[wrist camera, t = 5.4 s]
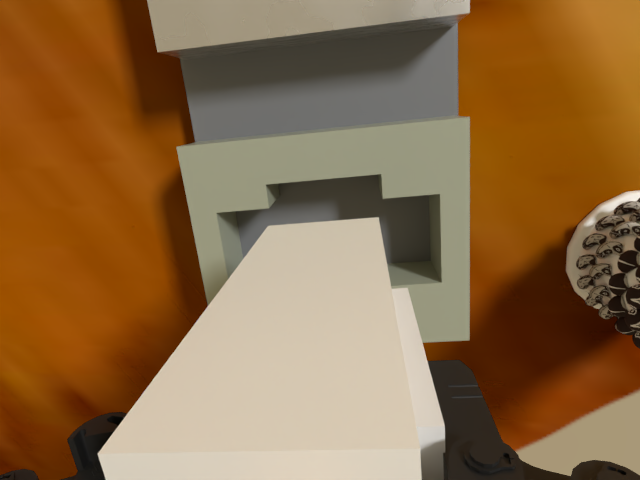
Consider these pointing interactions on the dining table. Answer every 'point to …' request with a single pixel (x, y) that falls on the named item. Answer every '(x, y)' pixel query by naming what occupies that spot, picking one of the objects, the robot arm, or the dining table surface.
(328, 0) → the socket
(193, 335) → the plug
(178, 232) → the dining table surface
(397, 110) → the board
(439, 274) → the grey-green cross cutout frame
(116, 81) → the dining table surface
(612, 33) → the dining table surface
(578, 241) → the decorative candle
